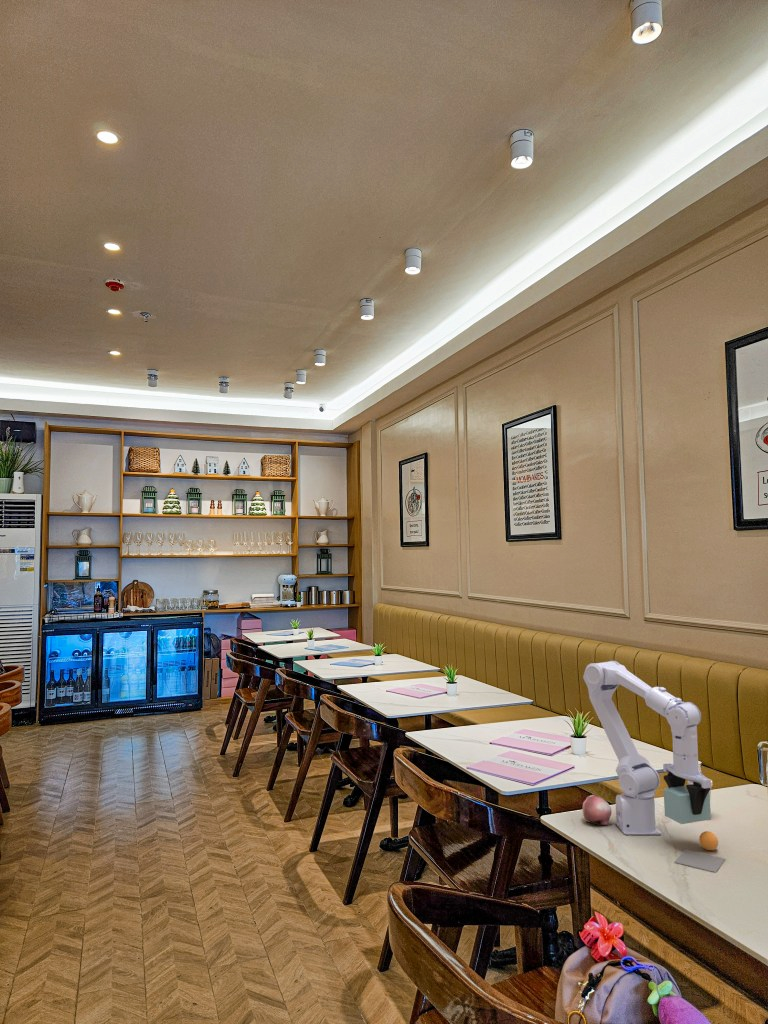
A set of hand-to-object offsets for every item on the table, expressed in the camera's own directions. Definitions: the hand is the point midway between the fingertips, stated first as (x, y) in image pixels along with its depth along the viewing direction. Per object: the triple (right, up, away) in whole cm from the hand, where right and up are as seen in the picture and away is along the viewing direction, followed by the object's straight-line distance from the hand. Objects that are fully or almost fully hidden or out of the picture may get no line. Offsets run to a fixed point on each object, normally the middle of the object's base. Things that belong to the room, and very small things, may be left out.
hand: (687, 809), depth 172 cm
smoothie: (+13, -11, +20) cm, 26 cm away
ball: (+4, -7, -2) cm, 8 cm away
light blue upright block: (0, -2, 0) cm, 2 cm away
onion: (-18, -11, +16) cm, 26 cm away
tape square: (-1, -8, -9) cm, 12 cm away
